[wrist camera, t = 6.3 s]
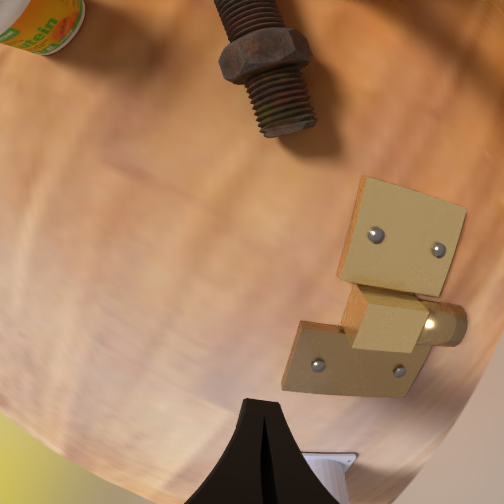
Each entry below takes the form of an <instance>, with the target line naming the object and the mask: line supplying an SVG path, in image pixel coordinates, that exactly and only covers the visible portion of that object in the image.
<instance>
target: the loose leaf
mask: <svg viewBox="0 0 504 504" xmlns="http://www.w3.org/2000/svg"><path fill="white" fill-rule="evenodd" d="M466 210H467V209H466V208H464V207H461V206H458V205H455V204H453V203H450V202H447V201H444V200H441V199H438V198H435V197H432V196H429V195H426V194H423V193H420V192H417V191H414V190H410V189H407V188H404V187H401V186H397V185H394V184H391V183H387V182H384V181H380V180H377V179H373V178H369V177H366V176H362V179H361V183H360V188H359V192H358V196H357V201H356V205H355V209H354V213H353V217H352V221H351V225H350V229H349V233H348V236H347V240H346V244H345V248H344V251H343V255H342V258H341V262H340V265H339V269H338V272H337V276H338V278H339V280H341V281H347V282H353V283H354V286H353V290H352V293H351V296H350V299H349V302H348V305H347V308H346V311H345V314H344V316H343V319H342V322H341V324H342V326H343V329H344V331H345V334H346V336H347V338H348V341H349V343H350V345H351V348H356V349H366V350H377V351H389V352H403V353H411V352H412V350H413V348H414V346H415V344H416V342H417V339H418V337H419V335H420V333H421V331H422V328H423V326H424V324H425V322H426V319H427V317H428V315H429V311H428V310H427V309H426V308H425V307H424V305H423V304H422V303H421V302H420V301H419V300H418V299H417V298H416V297H415V296H414V295H413V294H412V293H418V294H424V295H430V296H436V297H439V294H440V292H441V289H442V286H443V284H444V281H445V278H446V275H447V273H448V270H449V267H450V264H451V261H452V258H453V255H454V252H455V249H456V245H457V242H458V239H459V236H460V232H461V229H462V225H463V221H464V218H465V214H466ZM411 292H412V293H411Z"/></svg>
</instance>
